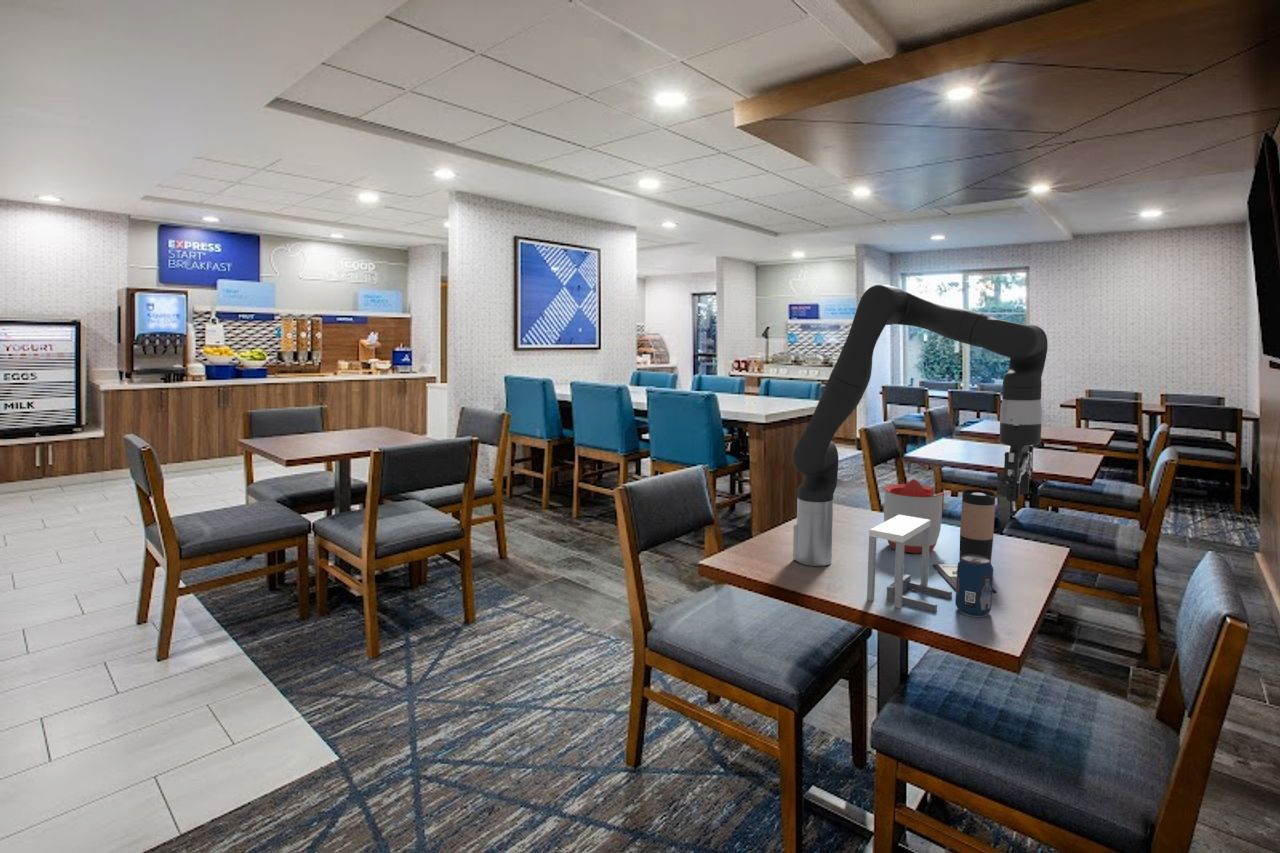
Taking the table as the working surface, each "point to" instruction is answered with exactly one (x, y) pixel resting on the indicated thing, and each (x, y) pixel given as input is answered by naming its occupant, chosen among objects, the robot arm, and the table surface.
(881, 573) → the table surface
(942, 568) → the chocolate bar
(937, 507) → the citrus juicer
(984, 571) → the soda can
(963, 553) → the travel mug
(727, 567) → the table surface
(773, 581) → the table surface
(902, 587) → the overhang shelf
